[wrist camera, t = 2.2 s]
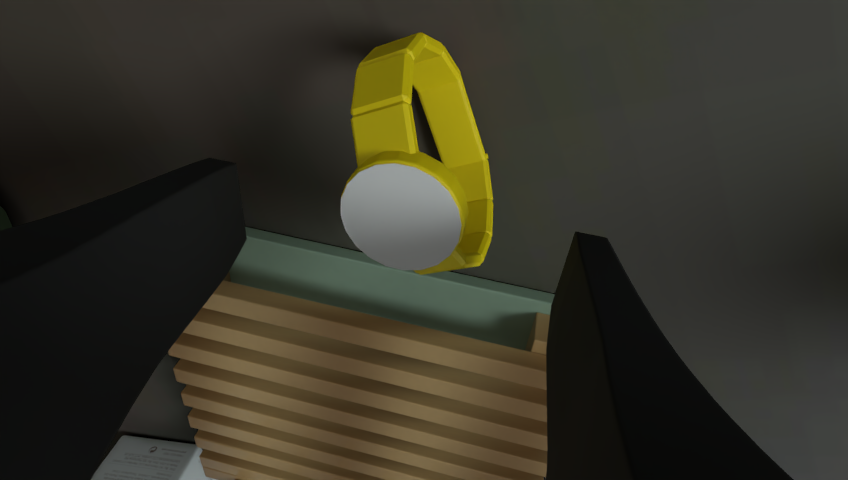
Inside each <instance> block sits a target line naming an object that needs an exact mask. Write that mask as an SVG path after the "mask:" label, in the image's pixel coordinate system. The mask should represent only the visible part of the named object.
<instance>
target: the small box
mask: <svg viewBox="0 0 848 480" xmlns="http://www.w3.org/2000/svg"><path fill="white" fill-rule="evenodd" d="M202 451H203V450H202V449H201V448H199V447H197V446H196V444H189V443H181V442H173V441H165V440H158V439H150V438H143V437H135V436H127V435H124V436H122V437H121V438H120V439H119V440H118V442H117V443H116V445H115V446H114V447H113V449H112V450H111V451H110V453H109V454H108V455H107V457H106V458H105V459H104V461H103V462H102V463H101V465H100V466H99V468H98V469H97V470H96V472H95V473H94V475H93V477H92V479H91V480H216V479H213V478H209V477H206V476H205V473H204V470H203V466H202V464H201V461H200V457H199V456H200V454H201V453H202Z"/></svg>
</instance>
